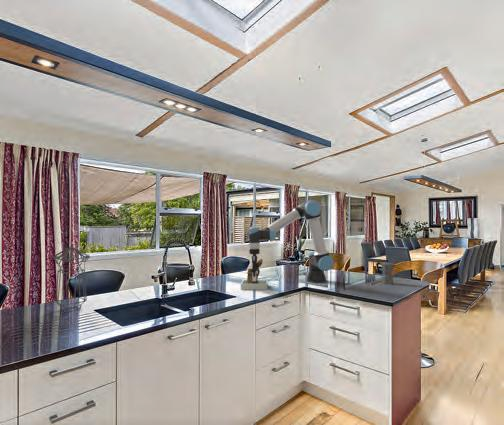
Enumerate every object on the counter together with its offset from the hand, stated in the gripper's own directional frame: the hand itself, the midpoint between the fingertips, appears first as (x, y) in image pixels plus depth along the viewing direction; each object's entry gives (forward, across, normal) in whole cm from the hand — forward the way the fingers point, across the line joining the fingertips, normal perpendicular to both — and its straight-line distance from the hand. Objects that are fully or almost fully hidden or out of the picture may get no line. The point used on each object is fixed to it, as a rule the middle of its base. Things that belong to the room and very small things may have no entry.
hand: (254, 279), depth 234 cm
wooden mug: (+4, -1, 0) cm, 4 cm away
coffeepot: (+6, -20, +100) cm, 102 cm away
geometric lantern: (+5, +62, -99) cm, 117 cm away
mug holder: (+6, 0, 0) cm, 6 cm away
